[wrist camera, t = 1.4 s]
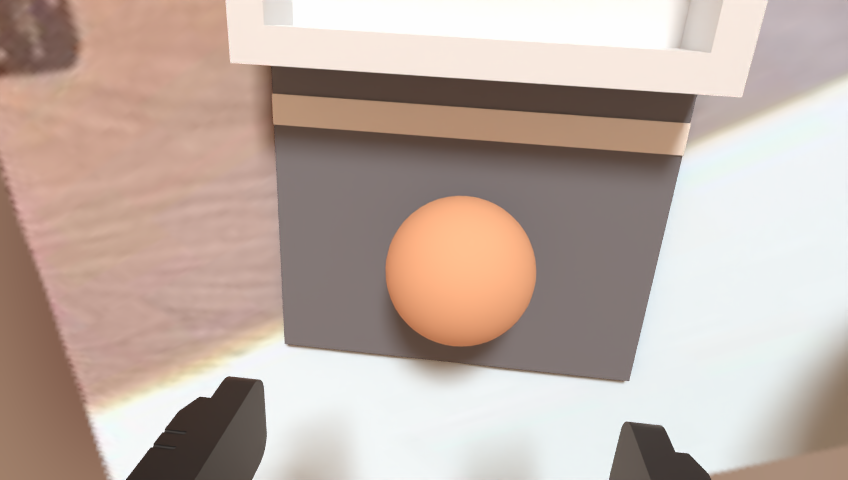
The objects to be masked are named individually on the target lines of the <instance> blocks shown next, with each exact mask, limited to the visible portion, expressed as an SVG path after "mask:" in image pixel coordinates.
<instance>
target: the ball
mask: <svg viewBox="0 0 848 480" xmlns="http://www.w3.org/2000/svg"><path fill="white" fill-rule="evenodd" d="M385 270H386V283H387V289H388V292H389V295H390V298H391V300H392V303H393V305H394V307H395V309H396V310H397V312H398V313H399V315H400V316H401V317H402V319H403V320H404V321H405V322H406V323H407V324H408V325H409V326H410V327H411V328H412V329H413V330H414V331H416V332H417V333H419V334H420V335H422V336H424V337H425V338H427V339H429V340H432V341H434V342H437V343H440V344H444V345H449V346H461V347H463V346H473V345H479V344H482V343H486V342H488V341H491V340H493V339H495V338H497V337H498V336H500V335H502V334H503V333H505V332H506V331H507V330H509V329H510V328H511V327H512V326H513V325H514V324H515V323H516V322H517V321H518V320H519V319H520V317H521V316H522V315H523V313H524V312H525V310H526V308H527V307H528V305H529V303H530V300H531V298H532V295H533V291H534V287H535V283H536V261H535V256H534V251H533V248H532V246H531V243H530V240H529V238H528V236H527V234H526V233H525V231H524V229H523V228H522V227H521V225H520V224H519V223H518V222H517V221H516V220H515V219H514V218H513V217H512V216H511V215H510V214H509V213H508V212H507V211H505V210H504V209H503V208H501V207H499V206H498V205H496V204H494V203H492V202H489V201H487V200H484V199H480V198H477V197H470V196H451V197H445V198H440V199H437V200H434V201H432V202H429V203H427V204H426V205H424V206H422V207H420V208H419V209H418V210H416V211H415V212H413V213H412V214H411V215H410V216H409V217H408V218H407V219H406V220H405V221H404V222H403V223H402V225H401V226H400V227H399V229H398V230H397V232H396V234H395V235H394V237H393V239H392V241H391V244H390V246H389V250H388V254H387V258H386V267H385Z"/></svg>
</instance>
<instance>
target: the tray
mask: <svg viewBox="0 0 848 480" xmlns="http://www.w3.org/2000/svg"><path fill="white" fill-rule="evenodd" d="M767 2H768V0H226V12H227V25H228V38H229V51H230V63H241V64H255V65H270V66H285V67H300V68H315V69H330V70H344V71H359V72H374V73H389V74H404V75H418V76H433V77H448V78H463V79H478V80H492V81H507V82H522V83H537V84H552V85H566V86H581V87H596V88H611V89H626V90H641V91H655V92H670V93H685V94H700V95H715V96H729V97H742V95H743V92H744V88H745V84H746V80H747V77H748V73H749V69H750V65H751V62H752V58H753V54H754V50H755V47H756V43H757V39H758V35H759V32H760V28H761V24H762V21H763V17H764V13H765V9H766V6H767Z"/></svg>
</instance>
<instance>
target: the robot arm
mask: <svg viewBox="0 0 848 480" xmlns="http://www.w3.org/2000/svg"><path fill="white" fill-rule="evenodd" d="M266 437H267V431H266V415H265V399H264V386H263V383H262V381H261V380H257V379H248V378H239V377H230V376H229V377H226V378H225V379H224V380H223V382H222V383H221V384H220V386H219V387H218V389H217V390H216V391H215V393H214V394H213V396H212V397H211V398H206V397H199V398H197V399H196V400H194V401H193V402H191V403H190V404H189V405H187V406H186V407H184V408H183V409H181V410H180V411H179V412H178V413H177V414H176V416H175V417H174V418H173V419H172V421H171V422H170V423H169V425H168V426H167V427H166V428H165V432H164V433H163V432H162V434H161V435H160V436H159V438H158V439H157V440H156V441H155V443H154V446H153V448H150V449H149V451H148V452H147V453H146V454H145V456H144V457H143V458H142V460H141V461H140V462H139V463H138V465H137V466H136V467H135V469H134V470H133V471H132V473H131V474H130V475H129V476H128V478H127V479H126V480H252V479H253V477H254V475H255V473H256V471H257V469H258V467H259V465H260V462H261V460H262V457H263V454H264V450H265V445H266ZM609 480H711V478H710V476H709V474H708V473H707V472H706V471H705V470H704V469H703V468H702V467H701V466H700V465H699V464H698V463H697V462H696V461H695V460H694V459H693V458H692V457H691V456H690V455H689V454H687V453H678V452H675V450H674V448H673V446H672V444H671V441H670V439H669V437H668V435H667V433H666V431H665V429H664V427H662V426H661V425H652V424H643V423H634V422H625V423H624V424H623V426H622V428H621V432H620V436H619V440H618V444H617V448H616V452H615V456H614V460H613V464H612V469H611V473H610V478H609Z"/></svg>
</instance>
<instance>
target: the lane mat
mask: <svg viewBox="0 0 848 480" xmlns="http://www.w3.org/2000/svg"><path fill="white" fill-rule="evenodd" d="M271 69H272V90H273V94H272V109H273V124H274V131H275V152H276V172H277V193H278V214H279V234H280V255H281V276H282V296H283V317H284V337H285V344H291V345H300V346H309V347H318V348H328V349H337V350H346V351H355V352H365V353H374V354H383V355H392V356H401V357H411V358H420V359H429V360H438V361H447V362H457V363H466V364H475V365H484V366H493V367H503V368H512V369H521V370H530V371H540V372H549V373H558V374H567V375H576V376H586V377H595V378H604V379H613V380H622V381H629V379H630V375H631V371H632V366H633V362H634V358H635V354H636V349H637V345H638V341H639V337H640V333H641V328H642V324H643V320H644V316H645V311H646V307H647V303H648V299H649V295H650V290H651V286H652V282H653V278H654V273H655V269H656V265H657V261H658V257H659V252H660V248H661V244H662V240H663V235H664V231H665V227H666V223H667V219H668V214H669V210H670V206H671V202H672V197H673V193H674V189H675V185H676V181H677V176H678V172H679V168H680V164H681V159H682V156H683V155H684V151H685V147H686V143H687V138H688V134H689V130H690V126H691V124H690V121H691V117H692V113H693V109H694V105H695V100H696V96H697V94H685V93H670V92H655V91H641V90H626V89H611V88H596V87H581V86H566V85H552V84H537V83H522V82H507V81H492V80H478V79H463V78H448V77H433V76H418V75H404V74H389V73H374V72H359V71H344V70H330V69H315V68H300V67H285V66H271ZM451 196H470V197H477V198H480V199H484V200H487V201H489V202H492V203H494V204H496V205H498V206H499V207H501V208H503V209H504V210H505V211H507V212H508V213H509V214H510V215H511V216H512V217H513V218H514V219H515V220H516V221H517V222H518V223H519V224H520V225H521V227H522V228H523V229H524V231H525V233H526V234H527V236H528V238H529V240H530V243H531V246H532V248H533V251H534V256H535V261H536V283H535V287H534V291H533V295H532V298H531V300H530V303H529V305H528V307H527V308H526V310H525V312H524V313H523V315H522V316H521V317H520V319H519V320H518V321H517V322H516V323H515V324H514V325H513V326H512V327H511V328H510V329H509V330H507V331H506V332H505V333H503V334H502V335H500V336H498V337H497V338H495V339H493V340H491V341H488V342H486V343H482V344H479V345H473V346H463V347H461V346H449V345H444V344H440V343H437V342H434V341H432V340H429V339H427V338H425V337H424V336H422V335H420V334H419V333H417V332H416V331H414V330H413V329H412V328H411V327H410V326H409V325H408V324H407V323H406V322H405V321H404V320H403V319H402V317H401V316H400V315H399V313H398V312H397V310H396V309H395V307H394V305H393V303H392V300H391V298H390V295H389V292H388V289H387V283H386V270H385V267H386V258H387V254H388V250H389V246H390V244H391V241H392V239H393V237H394V235H395V234H396V232H397V230H398V229H399V227H400V226H401V225H402V223H403V222H404V221H405V220H406V219H407V218H408V217H409V216H410V215H411V214H412V213H413V212H415V211H416V210H418V209H419V208H420V207H422V206H424V205H426V204H427V203H429V202H432V201H434V200H437V199H440V198H445V197H451Z"/></svg>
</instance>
